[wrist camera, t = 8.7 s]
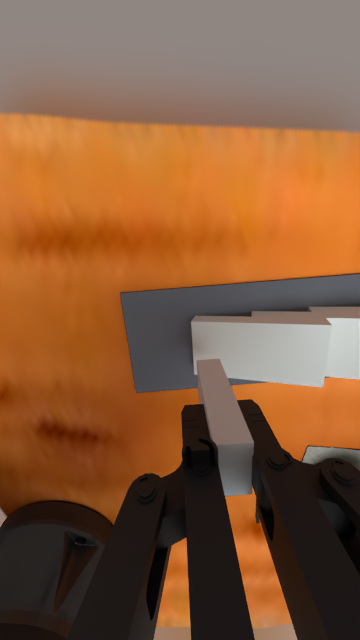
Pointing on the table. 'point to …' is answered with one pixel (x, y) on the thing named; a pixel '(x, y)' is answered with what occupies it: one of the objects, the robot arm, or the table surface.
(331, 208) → the table surface
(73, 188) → the table surface
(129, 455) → the table surface
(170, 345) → the mat
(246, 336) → the domino
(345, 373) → the domino
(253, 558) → the table surface
